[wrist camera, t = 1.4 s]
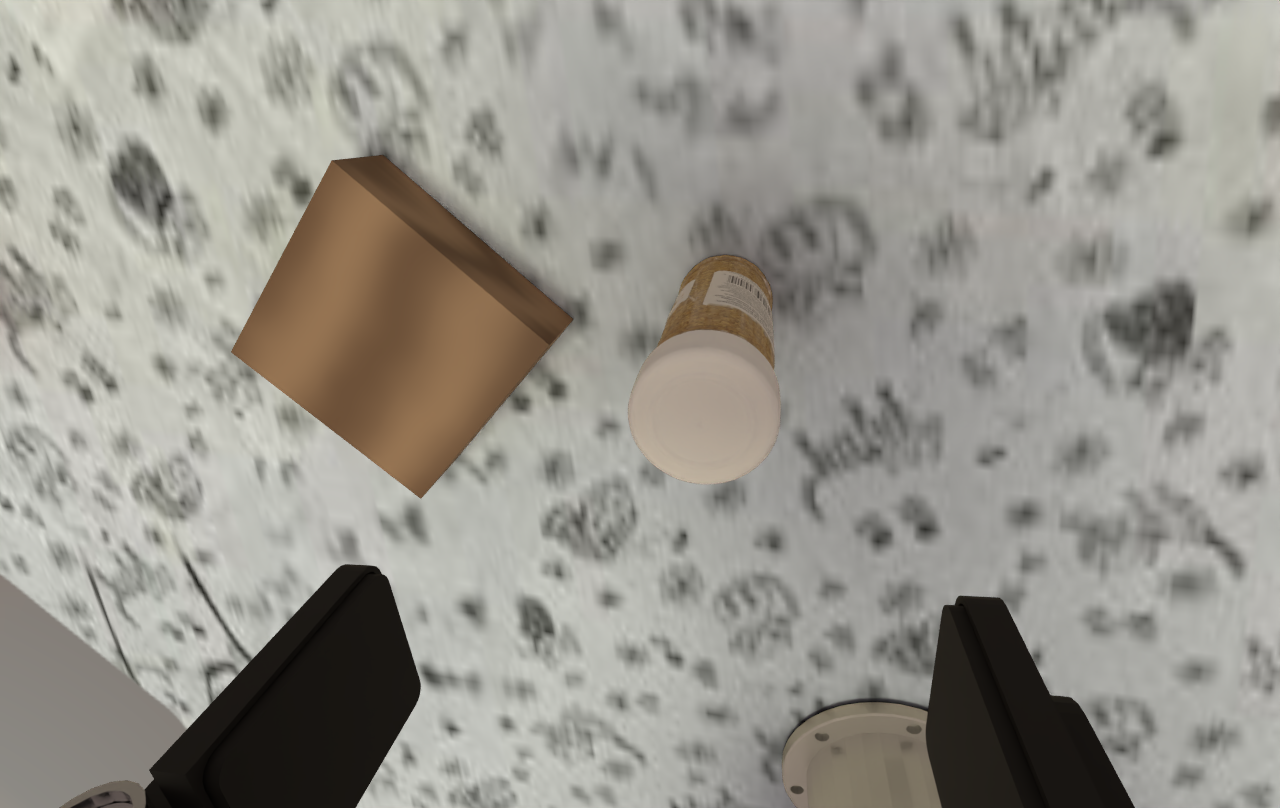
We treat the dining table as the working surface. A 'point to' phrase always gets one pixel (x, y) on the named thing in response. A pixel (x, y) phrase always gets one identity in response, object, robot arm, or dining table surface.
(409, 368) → the walnut stand
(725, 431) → the sprinkles bottle
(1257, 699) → the dining table surface
